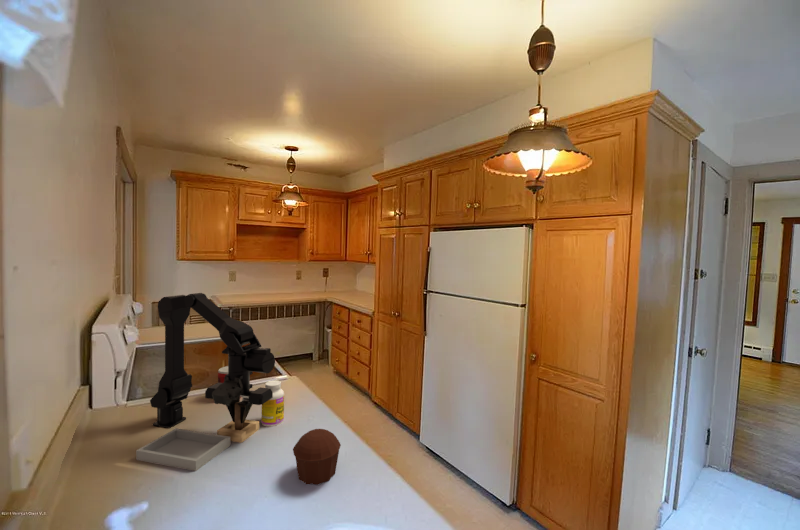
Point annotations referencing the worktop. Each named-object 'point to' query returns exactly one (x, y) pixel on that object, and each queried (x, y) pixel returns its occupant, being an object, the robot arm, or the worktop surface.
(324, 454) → the muffin
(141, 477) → the worktop surface
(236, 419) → the pin
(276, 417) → the supplement bottle
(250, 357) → the robot arm
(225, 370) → the canned food
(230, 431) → the holder
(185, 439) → the tray
